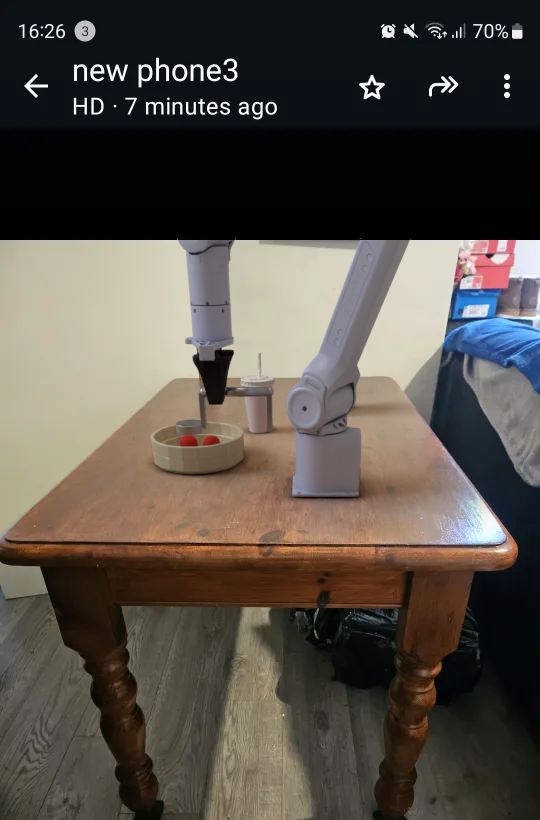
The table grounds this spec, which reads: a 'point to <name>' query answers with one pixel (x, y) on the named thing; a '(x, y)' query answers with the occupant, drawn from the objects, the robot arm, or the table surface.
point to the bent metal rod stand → (199, 425)
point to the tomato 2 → (211, 440)
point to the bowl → (198, 449)
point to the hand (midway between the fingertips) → (216, 402)
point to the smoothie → (257, 400)
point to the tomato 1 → (188, 441)
